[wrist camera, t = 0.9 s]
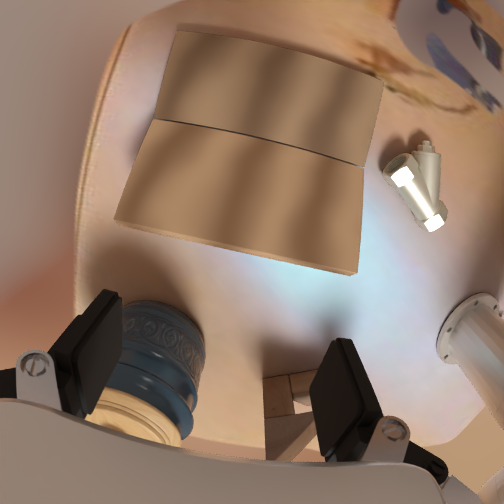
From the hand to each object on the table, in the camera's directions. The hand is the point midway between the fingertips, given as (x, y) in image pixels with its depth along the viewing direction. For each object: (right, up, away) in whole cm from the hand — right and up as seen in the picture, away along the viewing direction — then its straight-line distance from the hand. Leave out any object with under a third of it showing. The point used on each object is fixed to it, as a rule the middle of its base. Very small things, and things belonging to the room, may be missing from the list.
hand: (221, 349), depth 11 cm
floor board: (+3, +18, +14) cm, 23 cm away
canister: (-11, -7, +25) cm, 28 cm away
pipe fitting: (+19, +12, +17) cm, 29 cm away
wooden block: (+8, -14, +27) cm, 31 cm away
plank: (+1, +9, +14) cm, 17 cm away
